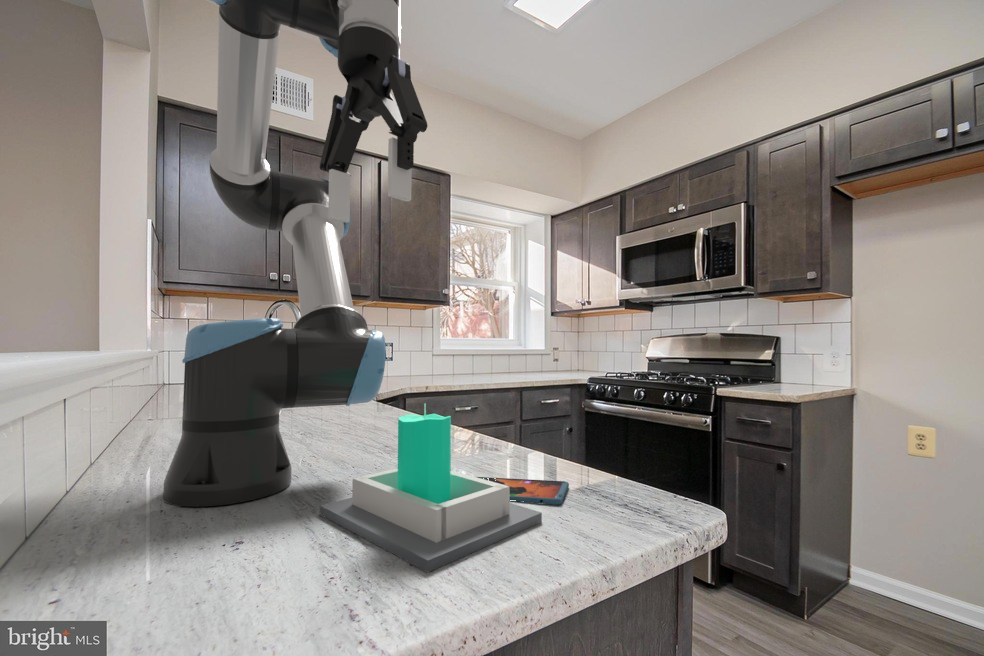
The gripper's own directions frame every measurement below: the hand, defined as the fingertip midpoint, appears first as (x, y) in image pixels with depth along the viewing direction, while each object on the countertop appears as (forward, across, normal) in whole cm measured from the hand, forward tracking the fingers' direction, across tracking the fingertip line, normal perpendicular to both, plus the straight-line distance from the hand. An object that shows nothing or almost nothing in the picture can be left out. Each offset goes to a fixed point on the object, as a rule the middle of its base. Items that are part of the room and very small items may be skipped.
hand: (366, 210), depth 56 cm
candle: (+36, +8, +3) cm, 37 cm away
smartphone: (+37, +9, +17) cm, 42 cm away
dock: (+36, +8, +3) cm, 37 cm away
